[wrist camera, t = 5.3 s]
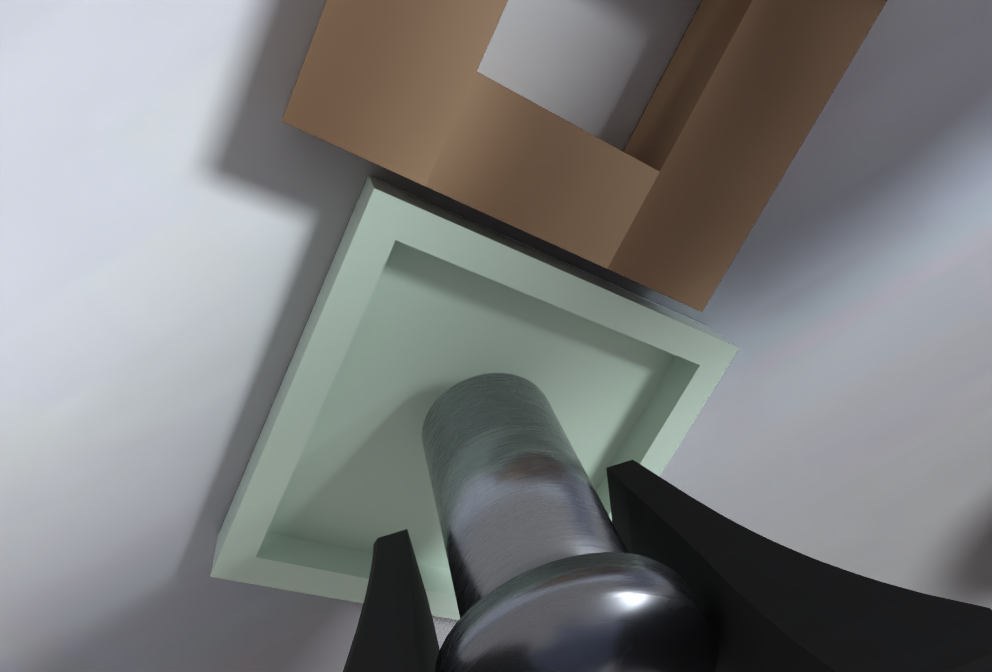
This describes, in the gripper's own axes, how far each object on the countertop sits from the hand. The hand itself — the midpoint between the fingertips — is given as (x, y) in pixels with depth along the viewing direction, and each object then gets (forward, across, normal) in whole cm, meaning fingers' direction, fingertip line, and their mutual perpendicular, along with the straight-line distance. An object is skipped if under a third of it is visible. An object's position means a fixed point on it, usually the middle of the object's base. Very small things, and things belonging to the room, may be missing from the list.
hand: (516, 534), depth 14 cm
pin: (+3, 0, -1) cm, 3 cm away
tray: (+4, 0, 0) cm, 4 cm away
